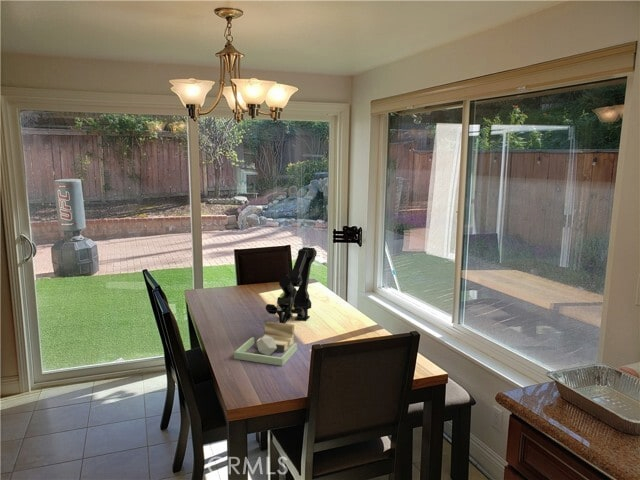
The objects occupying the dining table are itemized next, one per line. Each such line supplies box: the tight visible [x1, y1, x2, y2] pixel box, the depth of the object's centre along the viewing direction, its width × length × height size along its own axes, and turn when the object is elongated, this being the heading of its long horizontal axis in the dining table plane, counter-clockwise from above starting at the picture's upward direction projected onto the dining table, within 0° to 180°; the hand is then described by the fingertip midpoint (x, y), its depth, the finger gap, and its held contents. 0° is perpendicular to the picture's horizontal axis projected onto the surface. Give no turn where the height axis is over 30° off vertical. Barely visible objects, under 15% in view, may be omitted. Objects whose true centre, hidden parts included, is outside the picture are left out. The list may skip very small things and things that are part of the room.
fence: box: [233, 336, 298, 367], centre depth 209 cm, size 18×22×3 cm
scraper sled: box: [254, 321, 295, 353], centre depth 218 cm, size 13×14×8 cm
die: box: [257, 334, 277, 356], centre depth 209 cm, size 8×9×10 cm
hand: (280, 326), depth 224 cm, fingers closed
